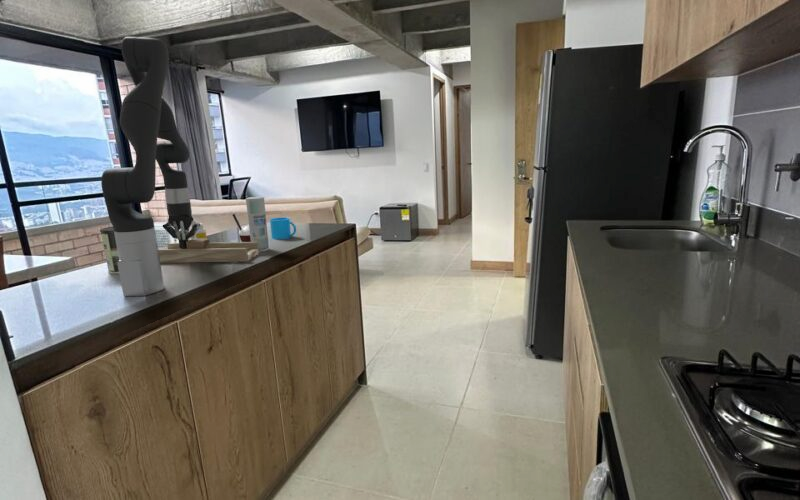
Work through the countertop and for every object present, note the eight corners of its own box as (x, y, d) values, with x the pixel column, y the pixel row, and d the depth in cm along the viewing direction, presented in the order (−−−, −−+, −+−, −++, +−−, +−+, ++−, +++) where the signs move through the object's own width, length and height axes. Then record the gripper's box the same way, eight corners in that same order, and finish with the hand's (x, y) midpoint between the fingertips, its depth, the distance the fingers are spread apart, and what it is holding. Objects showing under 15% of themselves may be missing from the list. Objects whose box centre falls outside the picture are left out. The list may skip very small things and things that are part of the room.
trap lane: (247, 261, 145) (245, 248, 144) (152, 262, 147) (149, 250, 146) (259, 253, 155) (258, 241, 154) (170, 255, 157) (168, 243, 156)
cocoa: (261, 242, 177) (259, 214, 175) (250, 245, 171) (249, 215, 169) (242, 240, 180) (241, 212, 178) (232, 242, 175) (230, 214, 172)
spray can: (255, 252, 157) (249, 199, 152) (249, 250, 162) (243, 197, 157) (272, 250, 161) (266, 197, 156) (265, 247, 166) (260, 196, 161)
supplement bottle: (210, 246, 170) (207, 222, 167) (203, 250, 164) (199, 225, 162) (197, 246, 170) (194, 223, 168) (190, 250, 165) (186, 225, 163)
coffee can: (152, 265, 142) (145, 224, 139) (127, 274, 133) (119, 230, 129) (126, 265, 145) (119, 224, 141) (100, 273, 135) (91, 230, 131)
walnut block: (202, 254, 148) (201, 241, 147) (187, 254, 148) (186, 241, 147) (210, 250, 153) (209, 238, 152) (195, 250, 154) (194, 238, 153)
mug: (267, 238, 182) (265, 220, 180) (279, 235, 190) (277, 217, 188) (291, 240, 178) (289, 221, 176) (302, 236, 186) (300, 218, 184)
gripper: (153, 202, 143) (160, 252, 147) (191, 202, 143) (197, 252, 147) (165, 200, 151) (172, 247, 155) (202, 199, 150) (208, 247, 154)
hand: (184, 249), depth 151 cm, fingers closed
